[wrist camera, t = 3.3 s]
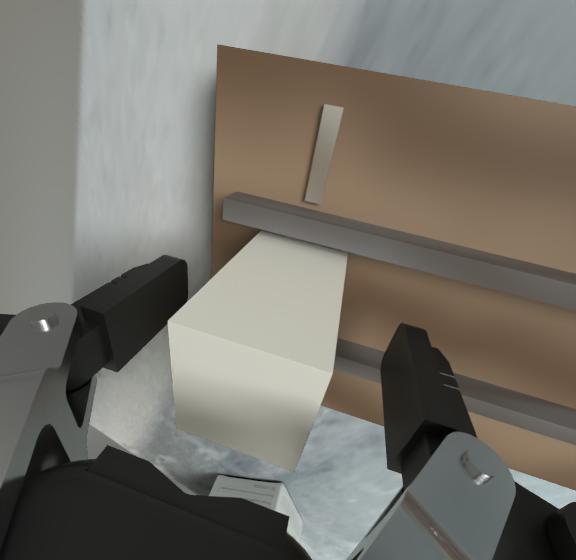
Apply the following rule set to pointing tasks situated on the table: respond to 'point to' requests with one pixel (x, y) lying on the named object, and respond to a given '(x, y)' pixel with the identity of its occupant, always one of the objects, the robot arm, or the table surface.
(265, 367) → the fader tab
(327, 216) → the fader console
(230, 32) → the table surface
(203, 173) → the table surface
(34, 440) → the robot arm
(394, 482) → the table surface
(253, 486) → the supplement box
